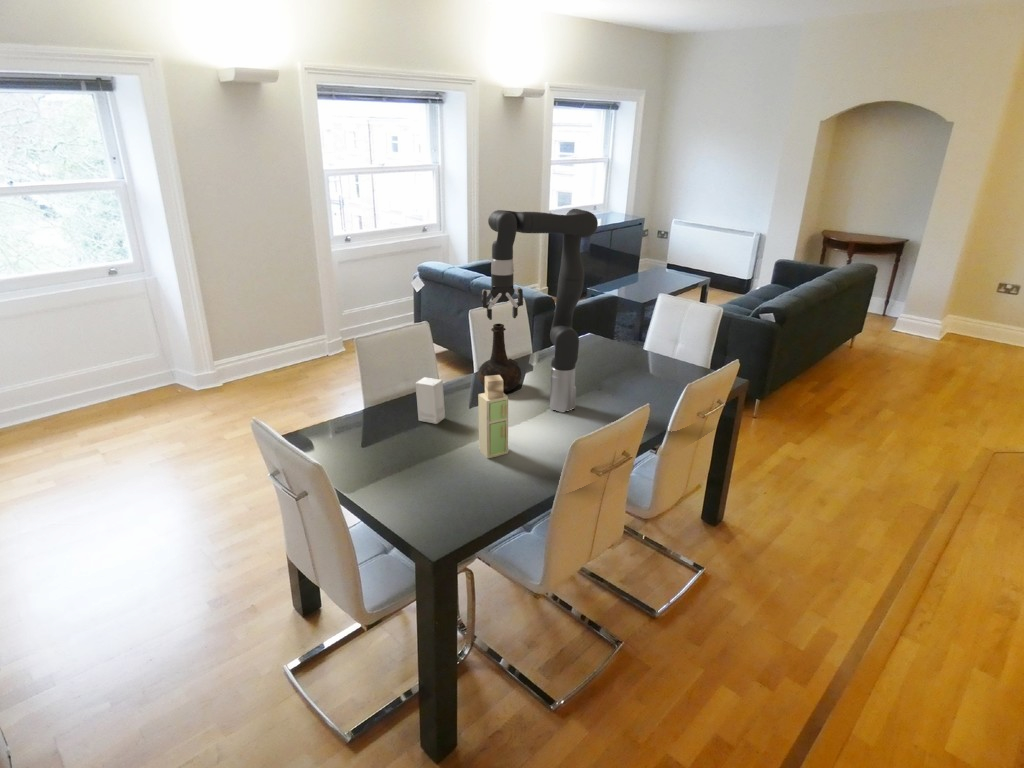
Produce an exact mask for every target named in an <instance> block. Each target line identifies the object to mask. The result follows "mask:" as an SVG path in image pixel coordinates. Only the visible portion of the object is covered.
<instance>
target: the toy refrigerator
mask: <svg viewBox="0 0 1024 768" xmlns="http://www.w3.org/2000/svg"><path fill="white" fill-rule="evenodd" d="M477 397H478V399H477V400H478V403H477V404H478V405H477V406H478V447H479V452H480V453H481V454H482V455H483V456H484V457H485V458H486V459H492V458H497V457H500V456H503V455H504V456H505V455H508V454H509V396H508V395H507V394H506V393H505V392H503V398H495V399H488V398H487V396H486V395H485V392H482V393H478V394H477Z"/></svg>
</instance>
